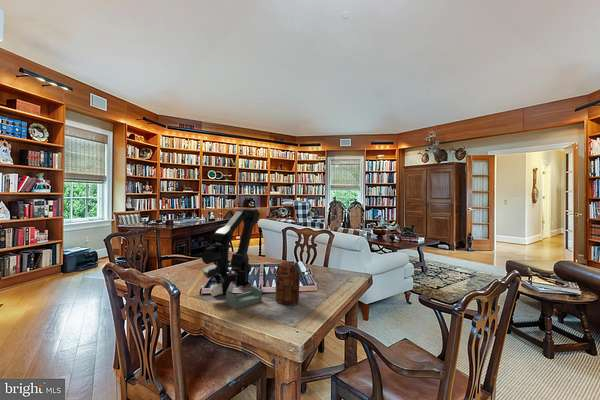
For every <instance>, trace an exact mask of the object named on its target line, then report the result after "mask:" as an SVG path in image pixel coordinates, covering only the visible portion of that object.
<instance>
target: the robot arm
mask: <svg viewBox="0 0 600 400" xmlns="http://www.w3.org/2000/svg"><path fill="white" fill-rule="evenodd" d="M260 216H261V214H260V211H259V209H257V208H256V209H255V208H237V209H236V211H235V213H234V215H233V216H232V217H231V218H230V219H229V220H228V221H227V223H226V224H225V225H224V226H223V227H220V228H218V229H217V230H216V231H215V232H214V233H213V236H212V238H211V241H210V242H209V245H208V247H205V250H204V251H203V252H202V254H201V260H202V262H203V263H204V265H208V266H206V267H205V268H203V269H202V272H203V276H204V278H206V279H211V278H214V280H215V284H219V283H222V291H223V294H222V295H224V293H225V294H226V291H227V289H228V287H229V285H230V283H231V282H232V284H235V285H236V284H237V285H236V286H239V285H241V286H244V284H245V285H248V283H249V284H250V283H251V282H250V281H249V274H250V273H251V272H252V266H251V264H250V263H249V260H250V259H249V256H248V250H249V247H250V242H251V238H252V233H253V229H254V227H255V225H256V224H257V223H258V222H259V218H260ZM242 222H243V227H242V232H241V235H240V240H239V244H238V248H237V251H236V252H235V253H233V254H232V255H231V259H230V260H229V249H230V248H232V245H231V244H230V243H231V241H232V240H233V237H234V232H235V231H236V229H237V228H238V227H239V226H240V224H241V223H242ZM209 264H211V265H209ZM229 264H230V267H231V269H230V268H229ZM231 270H232V271H231ZM239 287H240V286H239Z"/></svg>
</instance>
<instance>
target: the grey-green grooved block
mask: <svg viewBox="0 0 600 400" xmlns="http://www.w3.org/2000/svg"><path fill="white" fill-rule="evenodd" d="M225 294H226V295H225V303H226V304H227V305H228V306H230V307H231V308H233V309H234V310H236V309H239V308H243V307H246V306H250V305H253V304H257V303H261V302H262V296H263V295H262V294H263V291H262V289H260V288H259V287H257V286H255V285H253V284H250V291H247V292H242V293H239V294H234V293H233V292H230V291H226V293H225Z"/></svg>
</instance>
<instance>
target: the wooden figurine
mask: <svg viewBox="0 0 600 400" xmlns="http://www.w3.org/2000/svg"><path fill="white" fill-rule="evenodd" d="M300 276H301V275H300V271H299V269H298V268H297V266H296V265H295V264H294V262H291V261H288V260H287V261H285V260H284V261H281V262H280V263H279V264H278V265H277V267H276V271H275V302H276V303H277V304H279V305H285V306H286V305H287V306H292V305H293V306H297V305H298V304H299V302H300V282H301V277H300Z"/></svg>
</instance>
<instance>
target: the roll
mask: <svg viewBox="0 0 600 400" xmlns="http://www.w3.org/2000/svg"><path fill="white" fill-rule="evenodd" d="M209 290H210V294H211V296H212V297H215V296H220V295H224V294H226V293H224V294H223V291H222V283H219V284H216V283H215V284H211V285H210V287H209ZM227 291H230V292H231V293H233V291H234V283H233V282H231V283H230V285H229V287H228V289H227Z"/></svg>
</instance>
